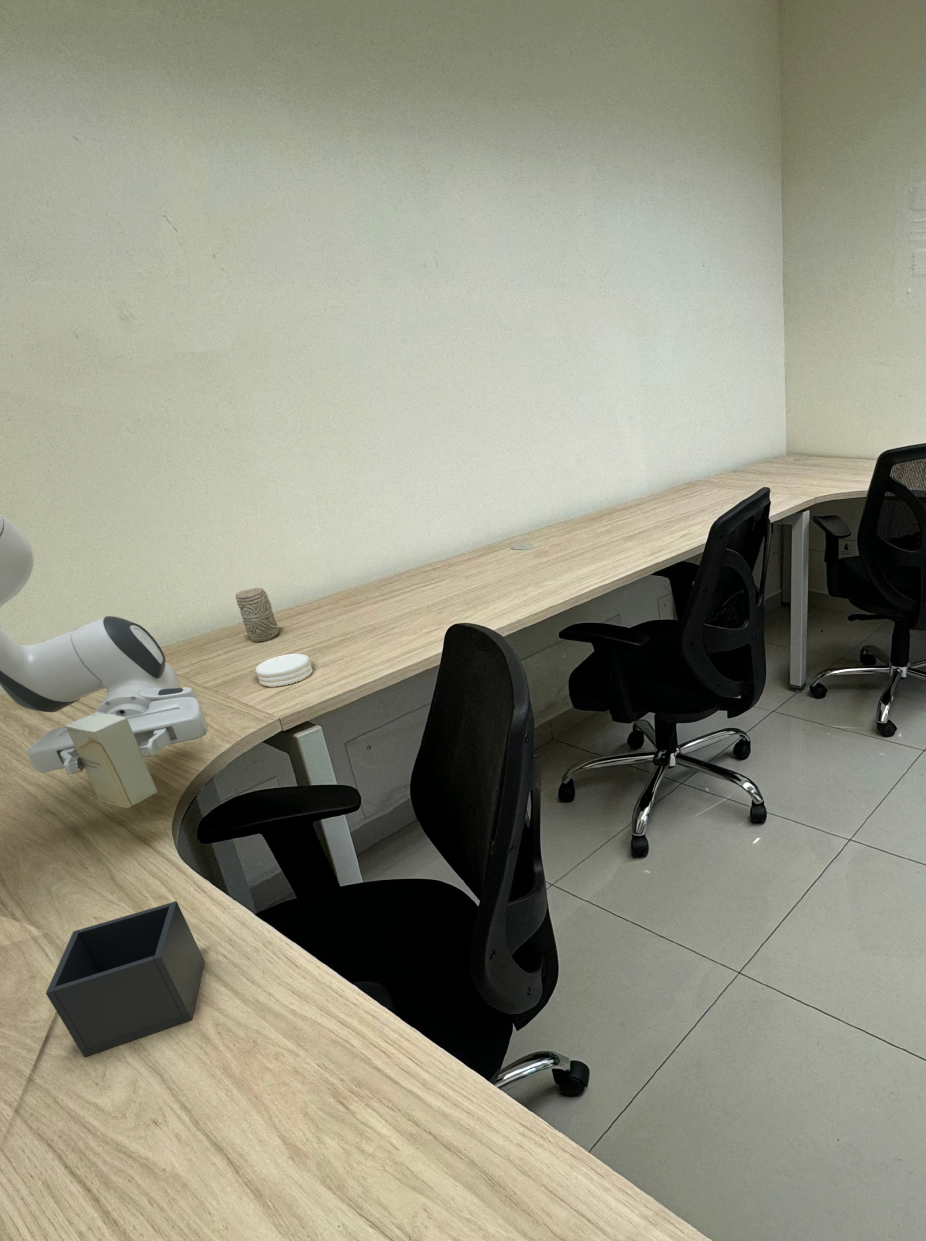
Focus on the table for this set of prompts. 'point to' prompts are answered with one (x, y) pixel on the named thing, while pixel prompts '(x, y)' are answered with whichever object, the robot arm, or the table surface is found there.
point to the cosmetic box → (112, 759)
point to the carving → (257, 614)
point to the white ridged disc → (284, 670)
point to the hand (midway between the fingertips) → (110, 760)
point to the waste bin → (127, 978)
